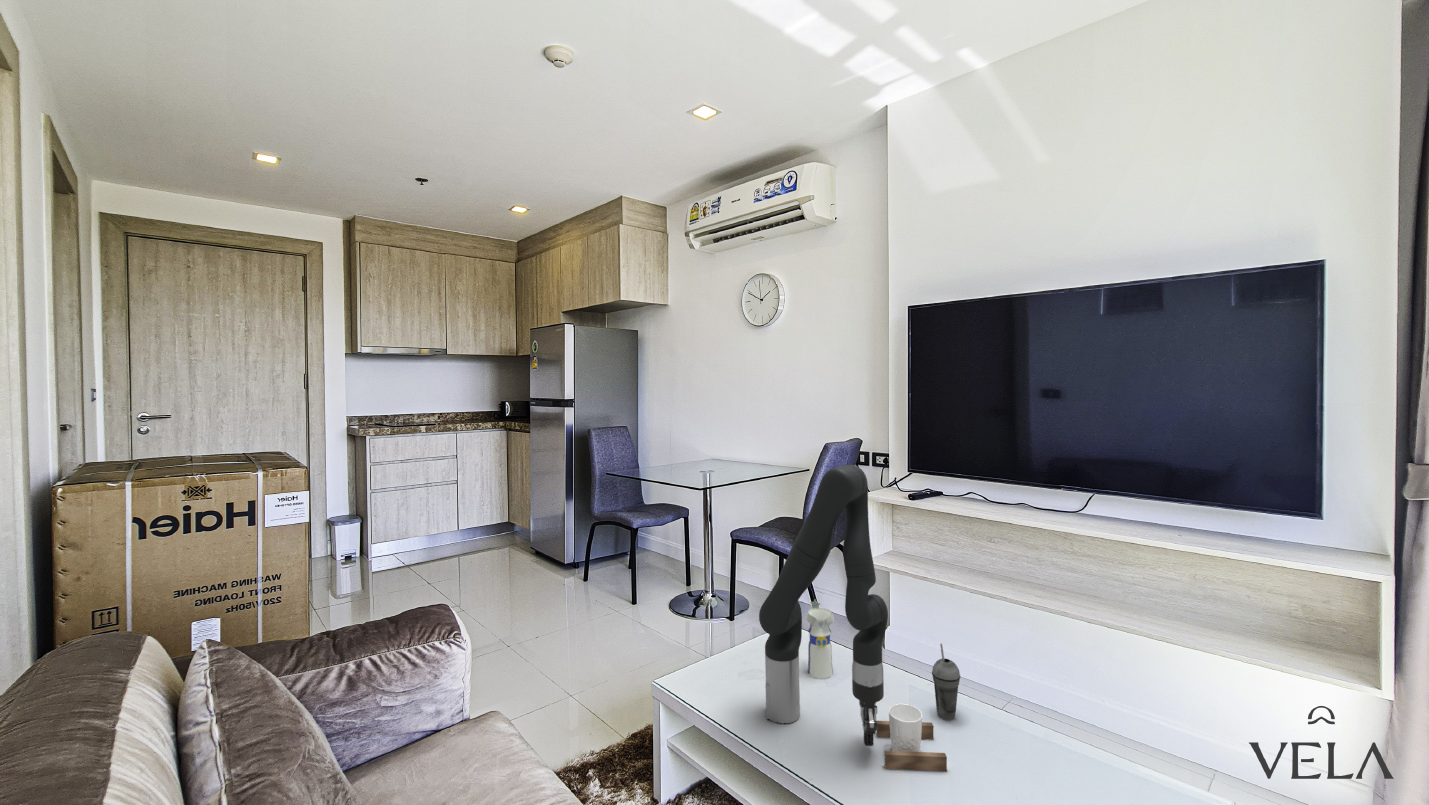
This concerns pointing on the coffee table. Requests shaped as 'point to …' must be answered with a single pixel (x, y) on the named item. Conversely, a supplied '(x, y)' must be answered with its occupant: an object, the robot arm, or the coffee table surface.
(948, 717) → the beverage cup
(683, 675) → the coffee table surface
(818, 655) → the white and blue figurine
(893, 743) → the white cup
